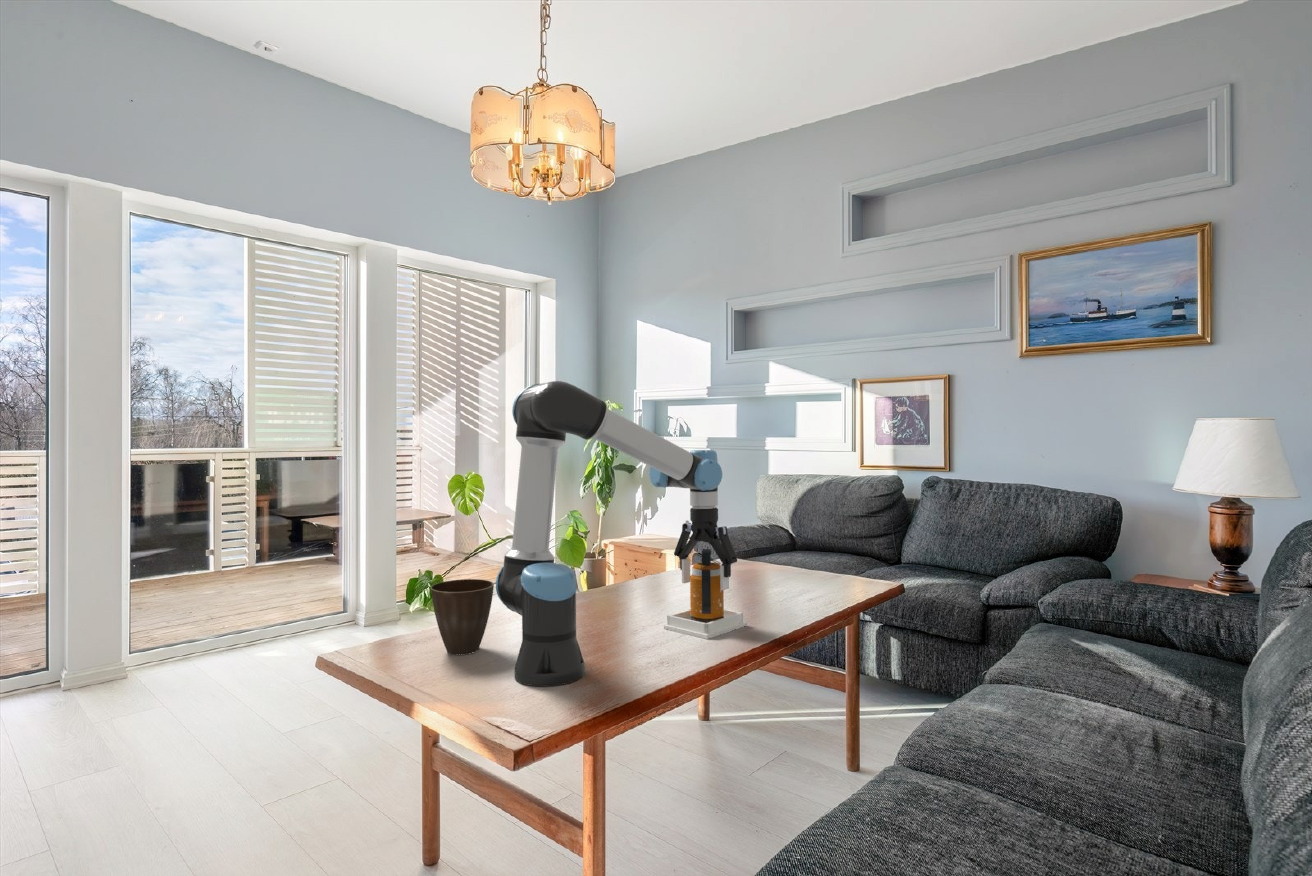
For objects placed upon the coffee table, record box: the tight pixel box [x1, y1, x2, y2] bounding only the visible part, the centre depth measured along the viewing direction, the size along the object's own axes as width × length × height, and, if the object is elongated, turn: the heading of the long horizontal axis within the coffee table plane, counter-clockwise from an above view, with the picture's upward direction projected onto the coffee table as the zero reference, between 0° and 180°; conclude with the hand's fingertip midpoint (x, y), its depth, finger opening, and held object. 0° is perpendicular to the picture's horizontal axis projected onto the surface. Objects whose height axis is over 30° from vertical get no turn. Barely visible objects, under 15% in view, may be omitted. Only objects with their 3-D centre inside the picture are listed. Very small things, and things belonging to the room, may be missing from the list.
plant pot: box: [430, 578, 495, 656], centre depth 173 cm, size 15×15×16 cm
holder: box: [663, 608, 748, 640], centre depth 191 cm, size 17×15×4 cm
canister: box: [689, 548, 725, 623], centre depth 191 cm, size 9×11×20 cm
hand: (705, 586), depth 191 cm, fingers open, 13 cm apart
